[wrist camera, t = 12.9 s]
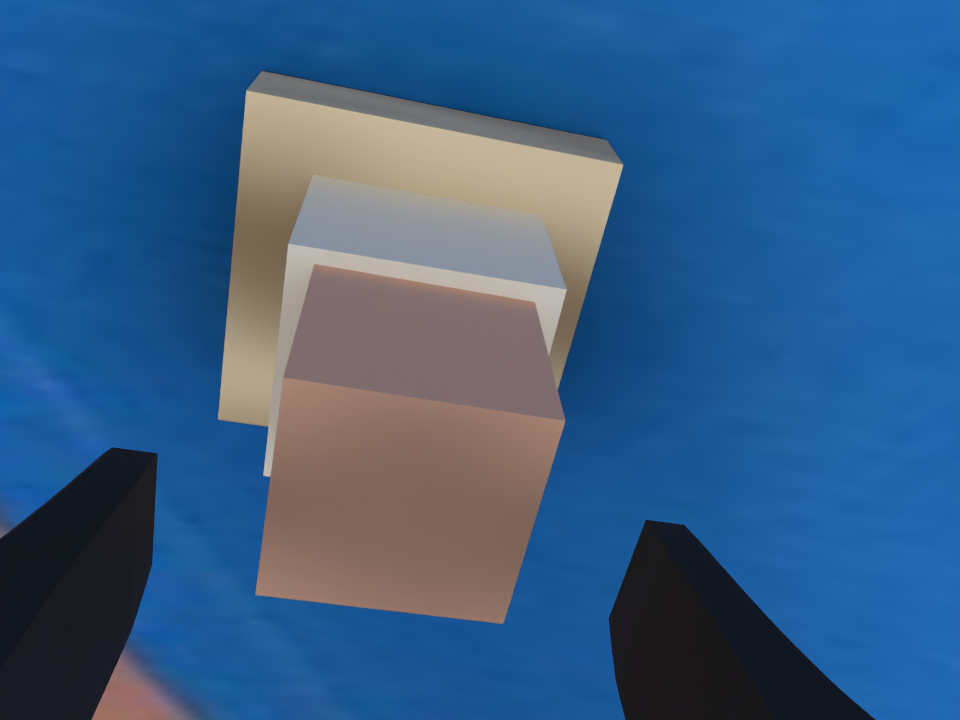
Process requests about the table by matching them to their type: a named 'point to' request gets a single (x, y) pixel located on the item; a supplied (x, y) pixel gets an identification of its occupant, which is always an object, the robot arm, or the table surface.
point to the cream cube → (414, 253)
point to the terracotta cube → (408, 448)
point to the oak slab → (399, 165)
